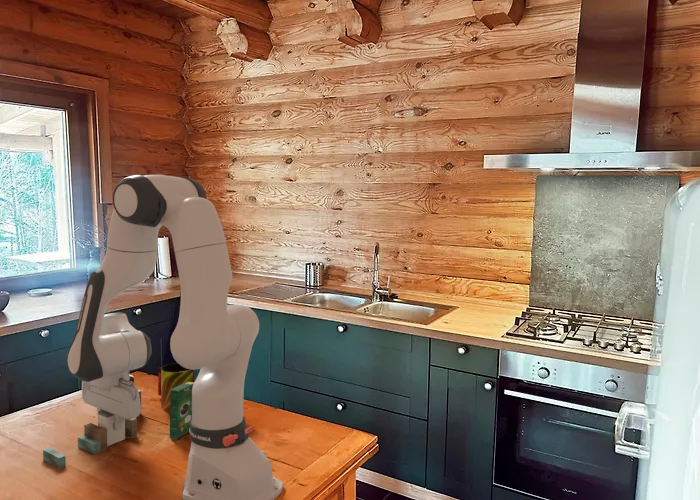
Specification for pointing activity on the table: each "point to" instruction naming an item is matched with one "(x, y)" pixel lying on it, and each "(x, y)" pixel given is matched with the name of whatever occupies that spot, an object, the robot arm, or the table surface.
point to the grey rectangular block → (110, 427)
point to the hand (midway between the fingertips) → (111, 426)
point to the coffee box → (180, 409)
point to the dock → (90, 442)
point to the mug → (172, 381)
